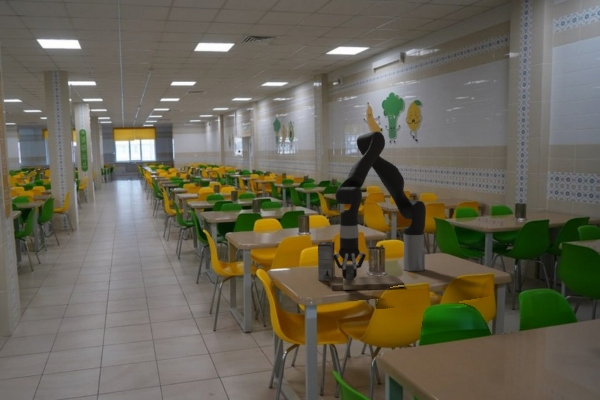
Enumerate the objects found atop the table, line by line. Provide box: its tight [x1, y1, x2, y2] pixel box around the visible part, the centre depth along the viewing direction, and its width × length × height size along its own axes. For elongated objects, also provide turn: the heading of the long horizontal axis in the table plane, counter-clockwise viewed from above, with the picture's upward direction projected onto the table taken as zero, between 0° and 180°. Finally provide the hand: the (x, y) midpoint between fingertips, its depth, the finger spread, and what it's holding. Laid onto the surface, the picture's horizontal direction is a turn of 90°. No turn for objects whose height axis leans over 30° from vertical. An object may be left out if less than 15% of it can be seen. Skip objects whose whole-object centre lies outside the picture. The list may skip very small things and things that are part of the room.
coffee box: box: [317, 241, 336, 282], centre depth 235 cm, size 9×6×16 cm
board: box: [327, 275, 405, 291], centre depth 222 cm, size 30×14×2 cm, turn 93°
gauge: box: [342, 263, 357, 291], centre depth 218 cm, size 5×13×10 cm, turn 3°
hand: (349, 277), depth 213 cm, fingers closed on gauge, 3 cm apart
